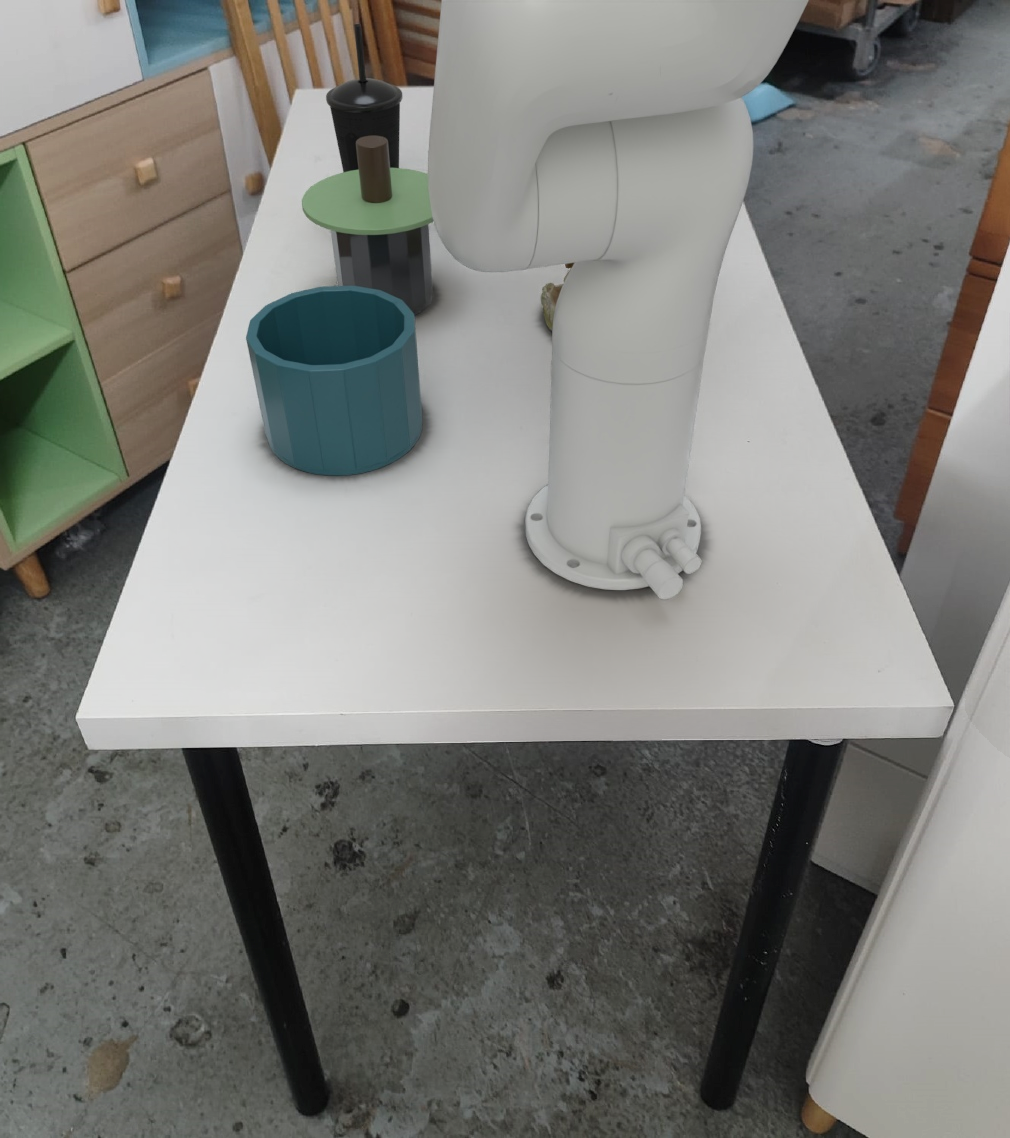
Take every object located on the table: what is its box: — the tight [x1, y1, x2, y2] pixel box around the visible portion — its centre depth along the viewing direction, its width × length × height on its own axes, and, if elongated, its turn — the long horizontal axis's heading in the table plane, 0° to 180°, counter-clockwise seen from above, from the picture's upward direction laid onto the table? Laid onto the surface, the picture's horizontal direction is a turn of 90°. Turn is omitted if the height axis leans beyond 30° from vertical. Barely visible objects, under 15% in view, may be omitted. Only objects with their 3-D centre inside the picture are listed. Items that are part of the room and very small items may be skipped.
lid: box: [301, 136, 434, 235], centre depth 92 cm, size 14×14×6 cm
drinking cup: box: [325, 23, 403, 173], centre depth 105 cm, size 8×8×20 cm
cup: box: [330, 223, 434, 316], centre depth 97 cm, size 9×9×9 cm
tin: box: [245, 285, 423, 477], centre depth 81 cm, size 13×13×10 cm
